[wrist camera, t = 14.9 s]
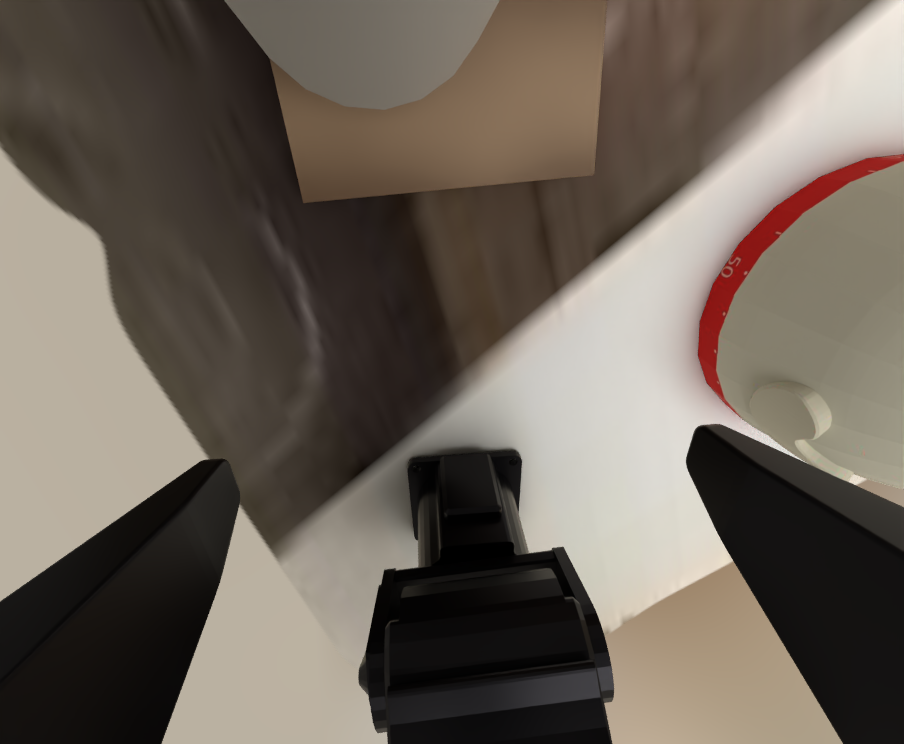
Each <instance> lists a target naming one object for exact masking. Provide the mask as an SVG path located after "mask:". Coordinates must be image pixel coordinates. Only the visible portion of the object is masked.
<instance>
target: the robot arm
mask: <svg viewBox="0 0 904 744" xmlns="http://www.w3.org/2000/svg"><path fill="white" fill-rule="evenodd" d="M511 459H515V460H514V461H510V460H511ZM686 465H687V469H688V472H689V474H690V476H691V478H692V480H693V482H694V484H695V486H696V489H697V491H698V493H699V495H700V497H701V499H702V501H703V503H704V506H705V508H706V510H707V512H708V514H709V516H710V518H711V520H712V523H713V525H714V527H715V529H716V531H717V533H718V535H719V537H720V539H721V540H722V542H723V544H724V546H725V547H726V549H727V551H728V553H729V554H730V556H731V558H732V559H733V561H734V563H735V564H736V566H737V568H738V569H739V571H740V573H741V574H742V576H743V578H744V579H745V581H746V583H747V584H748V586H749V587H750V589H751V591H752V593H753V594H754V596H755V598H756V599H757V601H758V603H759V604H760V606H761V608H762V609H763V611H764V613H765V614H766V616H767V618H768V619H769V621H770V623H771V624H772V626H773V627H774V629H775V631H776V632H777V634H778V636H779V638H780V639H781V641H782V643H783V644H784V646H785V647H786V649H787V651H788V653H789V654H790V656H791V658H792V659H793V661H794V663H795V664H796V666H797V667H798V669H799V671H800V673H801V674H802V676H803V677H804V679H805V681H806V683H807V684H808V686H809V688H810V689H811V691H812V693H813V694H814V696H815V698H816V699H817V701H818V703H819V704H820V706H821V708H822V709H823V711H824V713H825V714H826V716H827V718H828V719H829V721H830V722H831V724H832V726H833V728H834V729H835V731H836V732H837V734H838V736H839V738H840V739H841V741H842V742H843V744H904V507H902V506H900V505H898V504H895V503H893V502H891V501H888V500H887V499H884V498H882V497H880V496H878V495H875V494H873V493H871V492H869V491H867V490H864V489H862V488H860V487H858V486H856V485H854V484H851V483H849V482H847V481H845V480H842V479H840V478H838V477H836V476H834V475H831V474H829V473H827V472H825V471H823V470H820V469H818V468H816V467H814V466H812V465H809V464H807V463H805V462H803V461H801V460H798V459H796V458H794V457H792V456H790V455H787V454H785V453H783V452H781V451H779V450H776V449H774V448H772V447H770V446H768V445H765V444H763V443H761V442H759V441H757V440H754V439H752V438H750V437H748V436H745V435H743V434H741V433H739V432H737V431H734V430H732V429H730V428H728V427H726V426H723V425H720V424H710V425H700V426H698V427H697V428H696V429H695V431H694V434H693V437H692V440H691V444H690V447H689V450H688V453H687V457H686ZM414 466H419V467H418V468H415V467H414ZM521 468H522V460H521V456H520V454H519V453H518V452H516V451H502V452H488V453H474V454H459V455H445V456H431V457H416V458H412V459H411V460H409V462H408V479H409V489H410V498H411V508H412V518H413V527H414V537H415V539H416V540H418V568H410V569H403V570H396V568H394V569H387V570H384V574H383V579H382V584H381V585H379V588H378V593H377V598H376V603H375V608H374V613H373V618H372V623H371V628H370V633H369V638H368V643H367V648H366V652H365V655H364V658H363V660H362V663H361V665H360V668H359V685H360V686H361V687H362V689H363V690H364V691H365V692H366V693H367V694H368V695H369V702H370V706H371V713H372V719H373V723H374V726H375V730H376V731H377V733H382V732H387V737H388V744H612V740H611V735H610V730H609V725H608V720H607V715H606V710H605V705H604V703H606V702H612V700H613V697H614V683H613V674H612V667H611V662H610V657H609V652H608V648H607V644H606V640H605V637H604V633H603V630H602V627H601V624H600V621H599V618H598V615H597V613H596V611H595V608H594V606H593V604H592V602H591V600H590V598H589V596H588V594H587V592H586V590H585V588H584V586H583V584H582V582H581V580H580V578H579V577H578V575H577V573H576V571H575V569H574V567H573V565H572V563H571V561H570V559H569V557H568V555H567V553H566V551H565V549H564V547H557V548H552V550H550V551H542V552H534V553H529V551H528V548H527V544H526V540H525V536H524V532H523V529H522V525H521V521H520V517H519V514H518V513H519V498H520V483H521ZM239 503H240V491H239V488H238V485H237V483H236V480H235V477H234V474H233V472H232V469H231V466H230V464H229V462H228V461H227V460H225V459H210V460H203V461H200V462H199V463H197V464H196V465H194V466H193V467H192V468H190V469H189V470H187V471H186V472H184V473H183V474H182V475H180V476H179V477H177V478H176V479H175V480H173V481H172V482H170V483H169V484H167V485H166V486H165V487H163V488H162V489H160V490H159V491H157V492H156V493H155V494H153V495H152V496H150V497H149V498H147V499H146V500H145V501H143V502H142V503H141V504H139V505H138V506H136V507H135V508H133V509H132V510H130V511H129V512H127V513H126V514H125V515H123V516H122V517H120V518H119V519H118V520H116V521H115V522H113V523H112V524H110V525H109V526H107V527H106V528H105V529H103V530H102V531H100V532H99V533H97V534H96V535H95V536H93V537H92V538H90V539H89V540H87V541H86V542H85V543H83V544H82V545H80V546H79V547H77V548H76V549H74V550H73V551H72V552H70V553H69V554H67V555H66V556H64V557H63V558H62V559H60V560H59V561H57V562H56V563H55V564H53V565H52V566H50V567H49V568H47V569H46V570H45V571H43V572H42V573H40V574H39V575H38V576H36V577H35V578H33V579H32V580H30V581H29V582H27V583H26V584H24V585H23V586H22V587H20V588H19V589H17V590H16V591H15V592H13V593H12V594H10V595H9V596H7V597H6V598H4V599H3V600H2V601H1V602H0V744H162V741H163V738H164V735H165V732H166V730H167V727H168V724H169V721H170V719H171V716H172V713H173V711H174V708H175V705H176V702H177V700H178V697H179V694H180V691H181V689H182V686H183V683H184V680H185V678H186V675H187V672H188V669H189V666H190V664H191V661H192V658H193V656H194V653H195V650H196V647H197V644H198V642H199V639H200V636H201V634H202V631H203V628H204V625H205V623H206V620H207V617H208V614H209V611H210V609H211V606H212V603H213V600H214V598H215V595H216V592H217V589H218V586H219V583H220V580H221V576H222V573H223V569H224V565H225V561H226V557H227V553H228V549H229V545H230V540H231V537H232V532H233V528H234V524H235V520H236V516H237V512H238V508H239Z"/></svg>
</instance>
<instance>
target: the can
mask: <svg viewBox="0 0 904 744" xmlns="http://www.w3.org/2000/svg"><path fill="white" fill-rule="evenodd" d="M224 1H225V2H226V3H227V4H228V6H229V7H230V8H231V9H232V11H233V12H234V13H235V15H236V16H237V17H238V18H239V20H240V21H241V22H242V24H243V25H244V26H245V27H246V29H247V30H248V31H249V33H250V34H251V35H252V36H253V38H254V39H255V40H256V41H257V43H258V44H259V45H260V47H261V48H262V49H263V50H264V52H265V53H266V54H267V56H268V57H269V58H270V59H271V60H272V61H273V62H275V63H276V64H277V65H278V66H279V67H280V68H282V69H283V70H284V71H285V72H286V73H287V74H289V75H290V76H291V77H292V78H293V79H294V80H296V81H297V82H298V83H299V84H300V85H301V86H303V87H304V88H305V89H306V90H309V91H311V92H313V93H316V94H318V95H320V96H322V97H325V98H327V99H329V100H331V101H334V102H336V103H338V104H340V105H343V106H345V107H357V108H369V109H381V110H386V109H389V108H393V107H396V106H400V105H403V104H407V103H410V102H414V101H417V100H421V99H423V98H424V97H425V96H427V95H428V94H429V93H431V92H432V91H433V90H435V89H436V88H438V87H439V86H440V85H442V84H443V83H444V82H446V81H447V80H448V79H450V78H451V77H452V76H454V74H455V73H456V71H457V70H458V68H459V67H460V66H461V64H462V63H463V61H464V60H465V58H466V57H467V56H468V54H469V53H470V51H471V50H472V48H473V47H474V46H475V44H476V43H477V41H478V40H479V38H480V36H481V34H482V32H483V30H484V28H485V27H486V25H487V23H488V21H489V19H490V17H491V16H492V14H493V12H494V10H495V8H496V6H497V4H498V3H499V1H500V0H224Z"/></svg>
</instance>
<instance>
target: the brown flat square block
mask: <svg viewBox="0 0 904 744" xmlns="http://www.w3.org/2000/svg"><path fill="white" fill-rule="evenodd" d="M606 9H607V0H500V1H499V3H498V4H497V6H496V8H495V10H494V12H493V14H492V16H491V17H490V19H489V21H488V23H487V25H486V27H485V28H484V30H483V32H482V34H481V36H480V38H479V40H478V41H477V43H476V44H475V46H474V47H473V48H472V50H471V51H470V53H469V54H468V56H467V57H466V58H465V60H464V61H463V63H462V64H461V66H460V67H459V68H458V70H457V71H456V73H455V74H454V76H452V77H451V78H450V79H448V80H447V81H446V82H444V83H443V84H442V85H440V86H439V87H438V88H436V89H435V90H433V91H432V92H431V93H429V94H428V95H427V96H425V97H424V98H423V99H421V100H417V101H414V102H410V103H407V104H403V105H400V106H396V107H393V108H389V109H386V110H381V109H369V108H357V107H345V106H343V105H340V104H338V103H336V102H334V101H331V100H329V99H327V98H325V97H322V96H320V95H318V94H316V93H313V92H311V91H309V90H306V89H305V88H304V87H303V86H301V85H300V84H299V83H298V82H297V81H296V80H294V79H293V78H292V77H291V76H290V75H289V74H287V73H286V72H285V71H284V70H283V69H282V68H280V67H279V66H278V65H277V64H276V63H275V62H273V61H272V60H271V59H270V62H271V67H272V71H273V75H274V79H275V84H276V88H277V92H278V97H279V101H280V105H281V109H282V114H283V118H284V122H285V126H286V131H287V135H288V139H289V144H290V148H291V152H292V156H293V161H294V165H295V169H296V173H297V178H298V182H299V186H300V191H301V195H302V199H303V203H308V202H319V201H329V200H340V199H350V198H361V197H371V196H382V195H392V194H402V193H413V192H423V191H434V190H444V189H455V188H465V187H476V186H486V185H496V184H507V183H517V182H528V181H538V180H549V179H559V178H569V177H580V176H590V175H594V169H595V156H596V143H597V129H598V116H599V103H600V89H601V76H602V63H603V49H604V36H605V23H606Z"/></svg>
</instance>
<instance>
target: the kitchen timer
mask: <svg viewBox="0 0 904 744" xmlns="http://www.w3.org/2000/svg"><path fill="white" fill-rule="evenodd" d="M698 357H699V360H700V363H701V366H702V370H703V373H704V376H705V379H706V382H707V384H708V385H709V386H710V387H711V388H712V389H713V391H714V392H715V393H716V394H717V395H718V396H719V397H720V399H721V400H722V401H723V402H724V403H725V404H726V405H727V406H728V407H729V408H731V409H732V410H733V411H734V412H735V413H736V414H737V415H738V416H739V417H740V418H742V419H743V420H744V421H746V422H747V423H748V424H750V425H751V426H753V427H754V428H756V429H758V430H759V431H761V432H763V433H764V434H766V435H769V436H770V437H771V438H772V439H773V440H774V441H776V442H777V443H778V444H780V445H781V446H782V447H784V448H785V449H787V450H788V451H790V452H791V453H792V454H794V455H795V456H797V457H799V458H800V459H802V460H803V461H805V462H806V463H808V464H810V465H812V466H814V467H816V468H818V469H820V470H823V471H825V472H827V473H829V474H831V475H834V476H836V477H838V478H840V479H842V480H845V481H847V482H848V481H849V480H850V478H851V477H852V475H853V474H855V475H858V476H860V477H863V478H866V479H869V480H872V481H875V482H879V483H882V484H886V485H889V486H893V487H897V488H901V489H904V154H903V155H894V156H885V157H876V158H867V159H864V160H862V161H859V162H857V163H854V164H852V165H849V166H847V167H844V168H842V169H839V170H836V171H834V172H831V173H829V174H826V175H824V176H821V177H819V178H818V179H816V180H815V181H813V182H812V183H810V184H809V185H807V186H806V187H804V188H803V189H801V190H800V191H798V192H797V193H795V194H794V195H792V196H791V197H790V198H788V199H787V200H785V201H784V202H782V203H781V204H779V205H778V206H776V207H775V208H774V209H773V210H772V211H771V212H770V213H769V214H768V215H767V216H766V217H765V218H764V219H763V220H762V221H761V222H760V223H759V224H758V225H757V226H756V227H755V228H754V229H753V230H752V231H751V232H750V233H749V234H748V235H747V236H746V237H745V238H744V239H743V240H742V241H741V242H740V243H739V245H738V246H737V248H736V249H735V251H734V252H733V254H732V255H731V257H730V259H729V260H728V262H727V263H726V265H725V266H724V268H723V269H722V271H721V272H720V274H719V276H718V277H717V279H716V280H715V282H714V283H713V286H712V289H711V291H710V294H709V297H708V300H707V303H706V306H705V308H704V311H703V314H702V317H701V320H700V327H699V346H698Z"/></svg>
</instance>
